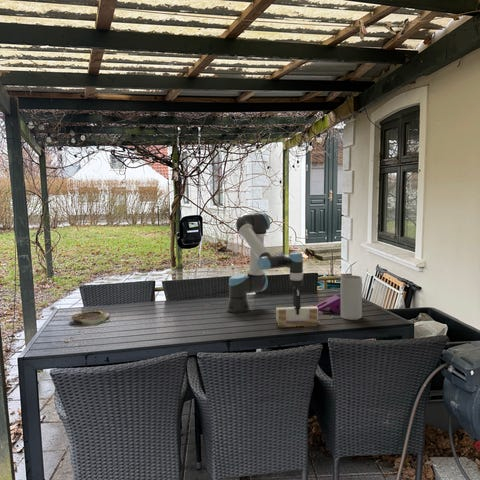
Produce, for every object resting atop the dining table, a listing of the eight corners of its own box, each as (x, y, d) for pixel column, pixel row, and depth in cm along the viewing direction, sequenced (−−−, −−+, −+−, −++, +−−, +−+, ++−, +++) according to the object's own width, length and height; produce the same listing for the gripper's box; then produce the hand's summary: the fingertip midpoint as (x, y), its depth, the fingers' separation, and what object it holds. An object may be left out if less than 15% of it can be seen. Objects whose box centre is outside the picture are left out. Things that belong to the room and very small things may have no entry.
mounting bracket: (320, 322, 273) (345, 309, 273) (314, 310, 272) (339, 298, 272) (317, 318, 282) (341, 305, 282) (311, 307, 281) (335, 294, 281)
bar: (276, 319, 252) (276, 307, 251) (321, 317, 252) (321, 306, 251) (276, 321, 248) (276, 309, 247) (323, 319, 248) (323, 307, 247)
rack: (277, 322, 255) (277, 306, 254) (314, 321, 255) (313, 304, 254) (279, 327, 245) (278, 310, 244) (317, 326, 246) (317, 309, 245)
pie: (78, 330, 249) (77, 322, 249) (58, 322, 268) (57, 314, 268) (120, 319, 270) (120, 312, 269) (99, 313, 288) (98, 305, 288)
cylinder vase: (336, 317, 261) (336, 277, 259) (347, 313, 270) (347, 274, 268) (355, 321, 253) (355, 280, 250) (365, 316, 262) (365, 276, 259)
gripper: (305, 282, 239) (305, 322, 241) (300, 276, 256) (301, 314, 258) (291, 282, 239) (292, 323, 241) (288, 276, 256) (288, 314, 258)
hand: (296, 318), depth 250 cm, fingers closed on bar, 4 cm apart
